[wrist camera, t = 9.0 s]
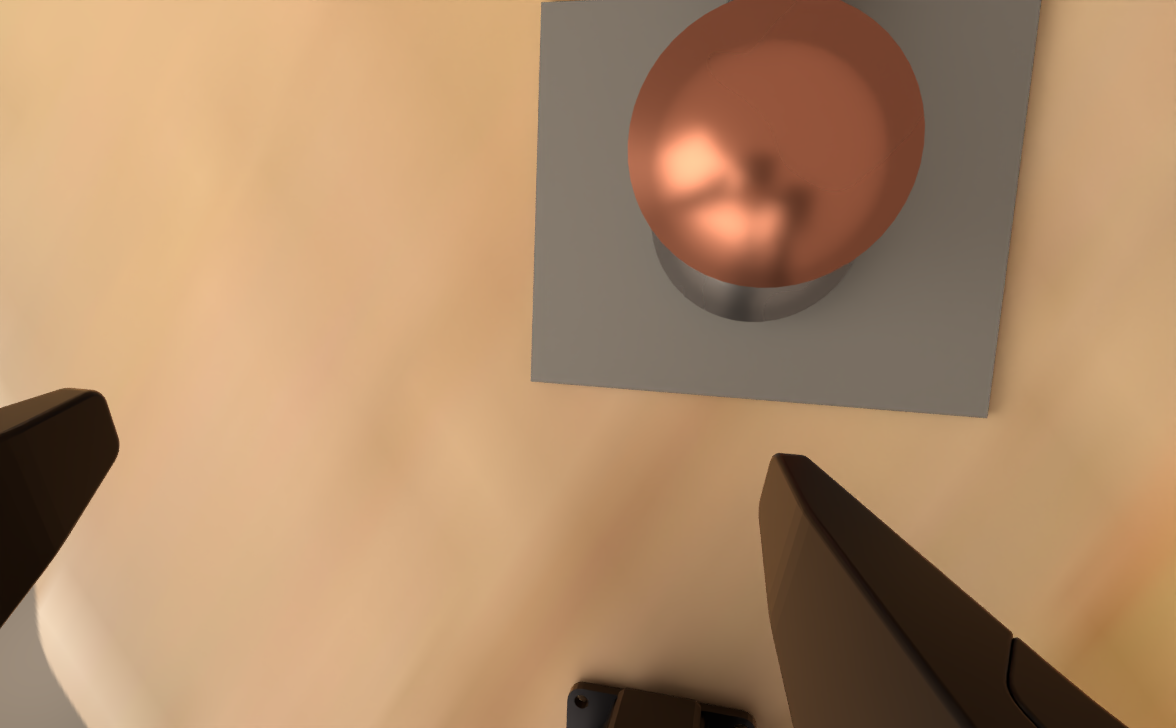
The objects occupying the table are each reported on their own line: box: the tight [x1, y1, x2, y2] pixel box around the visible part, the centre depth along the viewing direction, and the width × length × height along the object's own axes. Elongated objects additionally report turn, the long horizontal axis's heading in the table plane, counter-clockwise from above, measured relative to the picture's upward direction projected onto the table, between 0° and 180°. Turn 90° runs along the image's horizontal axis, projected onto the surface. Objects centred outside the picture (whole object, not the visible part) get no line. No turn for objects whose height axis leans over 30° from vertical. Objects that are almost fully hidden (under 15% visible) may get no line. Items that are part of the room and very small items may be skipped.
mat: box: [531, 0, 1041, 418], centre depth 21 cm, size 12×14×1 cm
